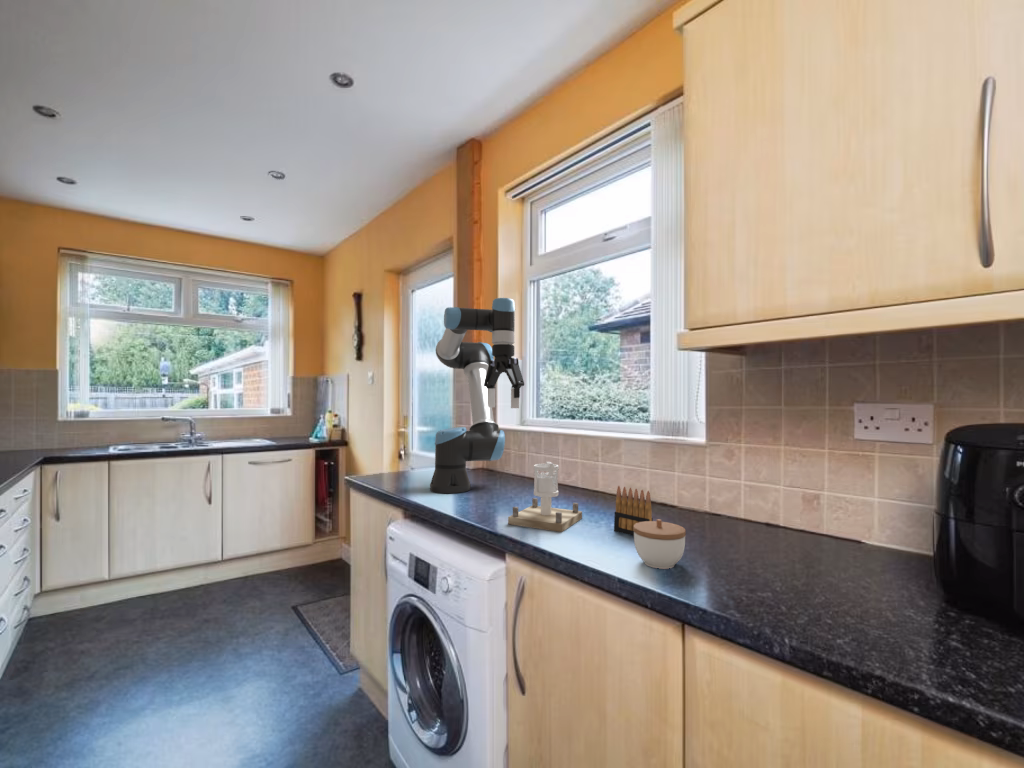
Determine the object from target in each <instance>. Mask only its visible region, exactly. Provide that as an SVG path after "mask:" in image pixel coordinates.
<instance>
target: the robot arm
mask: <svg viewBox="0 0 1024 768" xmlns="http://www.w3.org/2000/svg"><path fill="white" fill-rule="evenodd" d="M491 304H492V306H491V309H490V308H489V309H487V308H470V307H469V308H468V307H458V306H455V307H453V306H452V307H451V306H450V307H449V306H448V307H446V308H445V309H444V315H443V326H444V328H445V329H444V332H443V335H442V337H441V339H440V340H438V342H437V343H436V347H435V355H436V357H437V359H438V360H439V361H440V363H441V364H443V365H444V366H446V367H447V368H450V369H455V370H456V369H457V370H459V369H460V370H463V374H464V376H466V377H467V383H468V391H469V392H468V393H469V400H470V403H469V404H470V409H471V410H470V411H471V421H472V424H471V425H470V427H469V430H467V427H466V426H459V427H450V428H443V429H440V430H438V431H437V432H436V433H435V437H434V438H435V439H434V446H435V448H434V449H435V450H434V454H435V455H434V458H435V459H434V465H435V466H434V470H433V474H432V478H431V481H430V484H429V490H430V492H433V493H438V494H459V493H460V494H461V493H466V492H469V491H470V490H471V481H470V478H469V475H468V471H467V467H466V466H467V462H484V461H485V462H487V461H488V462H491V461H499V460H501V458H502V457H503V454H504V451H505V444H506V435H505V431H504V430H503V429H500V428H499V423H497V422H495V420H494V412H493V408H496V384H497V382H498V379H500V377H501V376H500V375H501V374H503V373H504V374H506V376H507V378H508V380H509V382H510V384H511V387H510V409H519V408H520V396H521V394H520V393H521V392H520V391H521V387H523V386H525V380H524V378H523V375H522V371H521V368H520V365H519V357H514V356H515V345H514V344H515V316H516V315H515V312H516V309H515V307H516V306H515V305H516V304H515V300H514V299H512V298H510V297H497V298H494V299H493V300H492V303H491ZM468 331H484V332H485V331H487V332H490V333H492V334H491V344H493V345H492V346H491V345H490V344H489V343H487V342H481V341H478V342H472V341H463V340H464V338H465V336H466V333H467V332H468Z"/></svg>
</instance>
